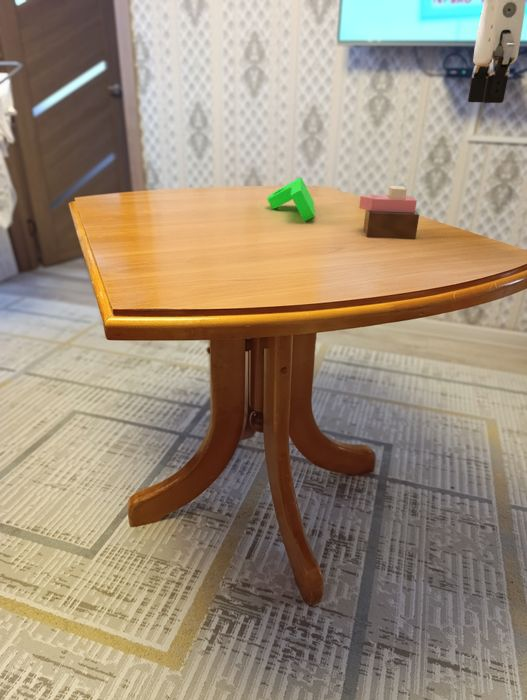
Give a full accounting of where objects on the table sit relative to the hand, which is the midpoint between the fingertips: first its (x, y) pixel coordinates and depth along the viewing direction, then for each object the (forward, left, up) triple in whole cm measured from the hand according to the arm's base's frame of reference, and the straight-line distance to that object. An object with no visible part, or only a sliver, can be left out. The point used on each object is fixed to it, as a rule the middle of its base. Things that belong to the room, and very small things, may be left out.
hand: (484, 102), depth 90 cm
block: (+13, -7, -26) cm, 29 cm away
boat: (+14, -7, -21) cm, 26 cm away
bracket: (+35, -22, -26) cm, 48 cm away
